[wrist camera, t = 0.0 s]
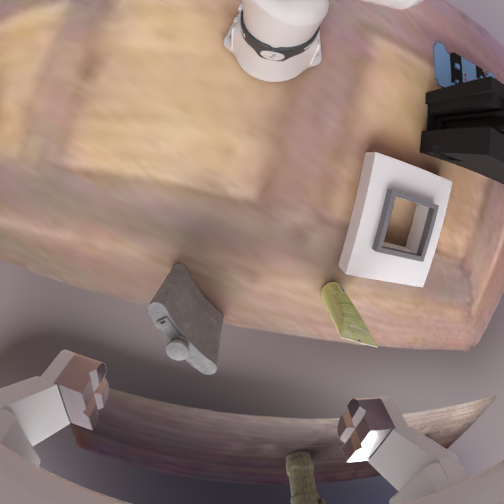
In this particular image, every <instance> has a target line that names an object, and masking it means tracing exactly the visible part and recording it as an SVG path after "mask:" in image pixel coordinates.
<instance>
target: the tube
mask: <svg viewBox="0 0 504 504" xmlns="http://www.w3.org/2000/svg"><path fill="white" fill-rule="evenodd" d="M321 297H322V299H323V301H324V303H325V305H326V307H327V309H328V311H329V313H330V315H331V317H332V319H333V321H334V323H335V325H336V327H337V330H338V332H339V334H340V336H341V338H344V339H348V340H352V341H355V342H359V343H363V344H366V345H370V346H374V347H378V346H377V344H376V342H375V340H374V339H373V337H372V335H371V333H370V331H369V330H368V328H367V326H366V325H365V323H364V321H363V320H362V318H361V316H360V315H359V313H358V311H357V310H356V308H355V307H354V305H353V303H352V302H351V300H350V299H349V297H348V296H347V294H346V293H345V291H344V290H343V288H342V287H341V285H340V284H339V283H336V282H329V283H327V284H326V285H324V286H323V288H322V290H321Z"/></svg>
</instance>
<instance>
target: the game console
mask: <svg viewBox="0 0 504 504" xmlns="http://www.w3.org/2000/svg"><path fill="white" fill-rule="evenodd" d="M433 48H434V65H435V79H437V85H439V86H441V87H443V88H441V89H438V90H434V91H431V92H427V93H426V104H427V105H428V116H427V131H422V135H421V147H420V153H424V154H427V155H430V156H433V157H436V158H439V159H442V160H445V161H447V162H450V163H453V164H456V165H459V166H461V167H464V168H466V169H469V170H472V171H474V172H477V173H479V174H482V175H484V176H486V177H489V178H491V179H493V180H496V181H498V182H500V183H502V184H504V85H503V84H502V83H500V82H499V81H498V80H496V79H495V77H494V75H493V74H491V73H490V72H487V75H486V76H485V75H484V72H482V69H481V68H479V67H478V66H476V65H474V64H473V63H471V62H469V61H468V60H466V59H464V58H463V57H461V56H459V55H457V54H456V53H454V52H453V53H451V54H448V52H447V51H446V50H445V45H443V44H441V43H439V42H437V41H436V42H435V45H433Z"/></svg>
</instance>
